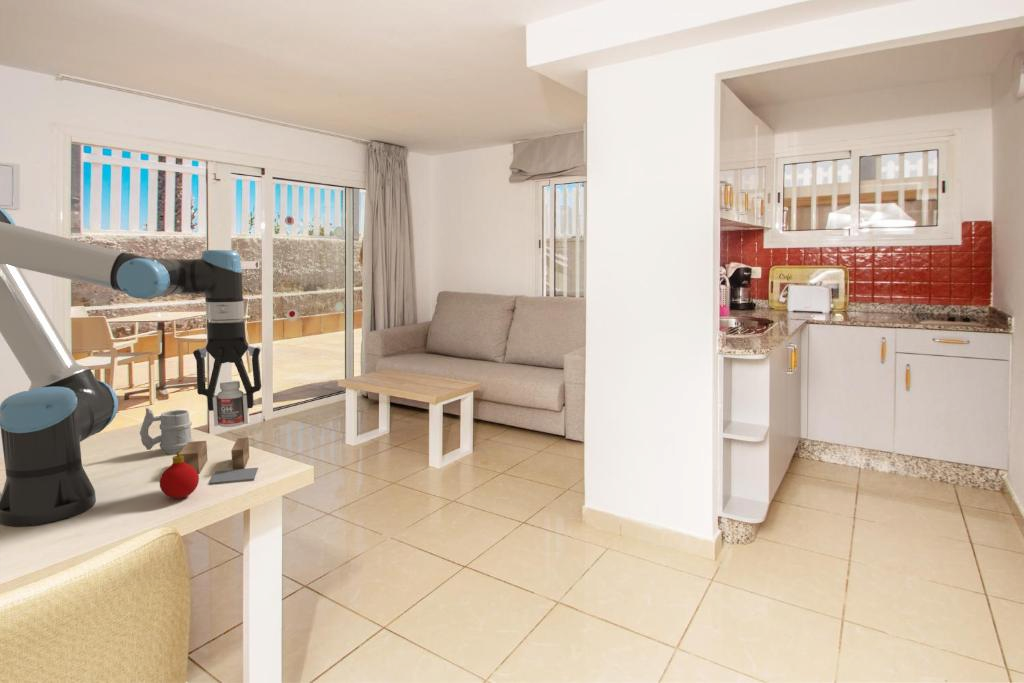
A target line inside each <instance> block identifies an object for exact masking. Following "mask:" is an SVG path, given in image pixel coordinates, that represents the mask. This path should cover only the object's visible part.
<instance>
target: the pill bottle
mask: <svg viewBox="0 0 1024 683" xmlns="http://www.w3.org/2000/svg"><path fill="white" fill-rule="evenodd" d="M240 383H241V382H240V381H239V380H224V381H220V382H219V389H220V391H219V392H218V393H217V394H216V395H217V400H218V416H219V425H218V426H220V427H223V428H234V427H239V426H243V425H244V408H243V394H244V393H245V392H243V391H242V390H240V388H241V384H240Z"/></svg>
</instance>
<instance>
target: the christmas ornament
mask: <svg viewBox="0 0 1024 683" xmlns="http://www.w3.org/2000/svg"><path fill="white" fill-rule="evenodd" d="M199 480H200V477H199V474H198V473H197V471H196V470H195V469H194V468H193V467H192V466H190V465H188V464H186V463H185V462H184V456H183V455H179V451H177V454H176V455H174V456H173V457H172V464H171V465H169V467H167V468H166V469H165V470H163V472H162V473H161V476H160V478H159V488H160V489H161V491H162V493H163V494H164V495H166V496H167V497H169V498H171V499H184V498H187V497H188V496H190V495H191V494H192V493H193V492H194V491H196V489H197V487H198V485H199Z"/></svg>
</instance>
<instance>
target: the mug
mask: <svg viewBox="0 0 1024 683" xmlns="http://www.w3.org/2000/svg"><path fill="white" fill-rule="evenodd" d="M157 421H158V422H160V424H159V429H160V435H158V436H156V437H151V435H149V428H150V426H151V425H152V424H153V423H154V422H157ZM192 423H193V422H192V421H191V419H190V412H189V410H186V409H176V410H167V411H164V412H162V413H161V414H160V415H155V413H154V412H153V410H152V409H151V408H150V407H145V416H144V419H143V422H142V423H141V427H140V431H139V434H140V438H141V439H140V441H141V444H142V445H143V446H144V447H145V449H146V450H148V451H150V450H151V449H152V448H153V447H154V446H155V445H157V444H159V447H160V448H159V449H161V453H162V454H165V455H166V454H167V455H175V454H176V455H177V451H179V453H180V452H181V451H182V449H183V448H184V447H185V445H186V444H187V443H188V442H195V440H194V439H193V437H192V427H191V426H192V425H193V424H192Z"/></svg>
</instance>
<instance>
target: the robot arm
mask: <svg viewBox="0 0 1024 683" xmlns="http://www.w3.org/2000/svg"><path fill="white" fill-rule="evenodd" d="M21 269H22V270H28V271H31V272H37V273H40V274H46V275H50V276H53V277H59V278H63V279H66V280H71V281H76V282H80V283H85V284H89V285H93V286H97V287H103V288H106V289H109V290H110V289H111V290H115V291H118V292H121V293H124V294H126V295H128V296H129V297H131V298H134V299H142V300H151V299H155V298H159V297H167V296H172V295H173V296H174V295H202V294H203V295H204V297H205V298H204V299H205V315H206V320H208V322H207V323H206V330H207V344H206V346H205V347H203V348H197V349H195V350H193V352H192V354H193V356H194V359H195V361H196V387H197V388H196V389H197V390H196V391H197V394H198V395H200V396H201V395H202V396H205V397H206V399H207V410H208V411H209V412H212V411H213V422H214V423H213V424H214V425H213V426H214V427H218V426H220V425H219V416H218V400H217V395H218V394H215V393H216V388H217V384H218V381H219V376H220V372H221V368H222V365H223V364H226V363H230V364H234V366H235V367H236V370H237V373H238V374H239V377H240V380H241V382H242V386H243V388H244V391H245V392H243V393H244V394H243V408H244V424H245V425H247V424H249V422H250V409H252V408H253V407H254V404H255V403H254V402H255V401H254V394H255V393H256V392H260V391H261V389H262V381H261V380H262V379H261V378H262V377H261V367H260V358H259V357H260V353H261V350H262V349H261V347H260V346H253V345H249V343H248V342H247V338H246V323H245V322H244V321H243V320H244V319H245V305H244V303H245V302H244V295H243V294H244V293H243V292H244V291H243V270H242V263H241V255H240V253H239V252H238V251H236V250H234V249H233V250H231V249H230V250H229V249H228V250H226V249H208V250H207V249H206V250H203V251H202V254H201V258H198V259H196V258H195V259H188V258H186V259H185V258H182V259H179V258H149V257H146V256H142V255H138V254H133V253H128V252H124V251H121V250H116V249H112V248H109V247H104V246H101V245H95V244H91V243H87V242H85V241H84V242H83V241H80V240H77V239H72V238H68V237H63V236H59V235H56V234H51V233H47V232H44V231H40V230H35V229H31V228H27V227H23V226H19V225H16V223H15V221H14V220H13V218H12V217H11V215H10V214H9V213H8V212H7V211H6V210H5V209H3V208H2V207H0V334H1V336H2V338H3V339H4V341H5V343H6V344H7V345H8V347H9V349H10V350H11V352H12V353H13V355H14V357H15V358H16V360H17V362H18V363H19V365H20V366H21V368H22V370H23V371H24V373H25V375H26V376H27V378H28V380H29V381H30V386H29V388H28V390H22V391H19V392H17V393H13V394H11V395H8V397H6V398H5V399H4V400H3V401H2V402H1V403H0V436H1V443H2V450H3V451H2V452H3V453H2V454H3V460H4V468H5V482H4V486H3V489H2V493H1V495H0V524H2V525H4V526H9V527H10V526H11V527H12V526H13V527H25V526H26V527H28V526H35V525H42V524H43V525H44V524H47V523H48V524H49V523H52V522H57V521H60V520H64V519H65V520H66V519H68V518H71V517H74V516H76V515H79V514H81V513H83V512H86V511H88V510H89V509H90V508H92V507H93V506H94V505H95V504H96V501H97V498H96V496H97V495H96V490H95V488H94V485H93V484H92V482H91V480H90V478H89V476H88V474H87V473H86V471H85V469H84V467H83V463H82V451H81V442H82V441H85V440H86V439H89V438H90V437H92V436H94V435H96V434H99V433H100V432H102V431H103V430H104V429H105V428H107V427H108V426H109V425H110V424H111V423H112V422H113V420H114V419H115V418H116V415H117V413H118V409H119V399H118V396H117V394H116V392H115V390H114V389H113V388H112V386H110V384H108V383H107V382H105V381H102V380H99V379H97V378H96V376H95V375H94V373H93V372H92V370H91V369H90V367H88V366H84V365H82V364H79V363H77V360H76V359H75V358H74V356H73V354H72V352H71V351H70V349H69V348H68V346H67V345H66V343H65V341H64V339H63V338H62V336H61V334H60V332H59V331H58V329H57V328H56V326H55V324H54V323H53V321H52V319H51V318H50V316H49V314H48V313H47V310H46V308H44V306H43V305H42V303H41V301H40V299H39V297H38V296H37V294H36V293H35V291H34V289H33V288H32V286H31V284H30V283H29V281H28V279H27V278H26V276H25V274H24V273H23V271H22V270H21ZM247 351H248V353H249V356H251V365H252V366H251V367H252V374H253V375H252V376H253V377H252V378H253V386H252V382H251V381H250V377H249V375H248V372H247V370H246V367H245V364H244V361H243V357H244V355H245V354H246V352H247ZM207 353H208V354H209V355H210V356H211V357H212V358H213V359H214V360H213V361H214V362H213V367H212V370H211V371H212V372H211V375H210V379H209V383H208V388H207V387H206V361H205V358H206V357H207ZM244 424H243V425H244Z"/></svg>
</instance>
